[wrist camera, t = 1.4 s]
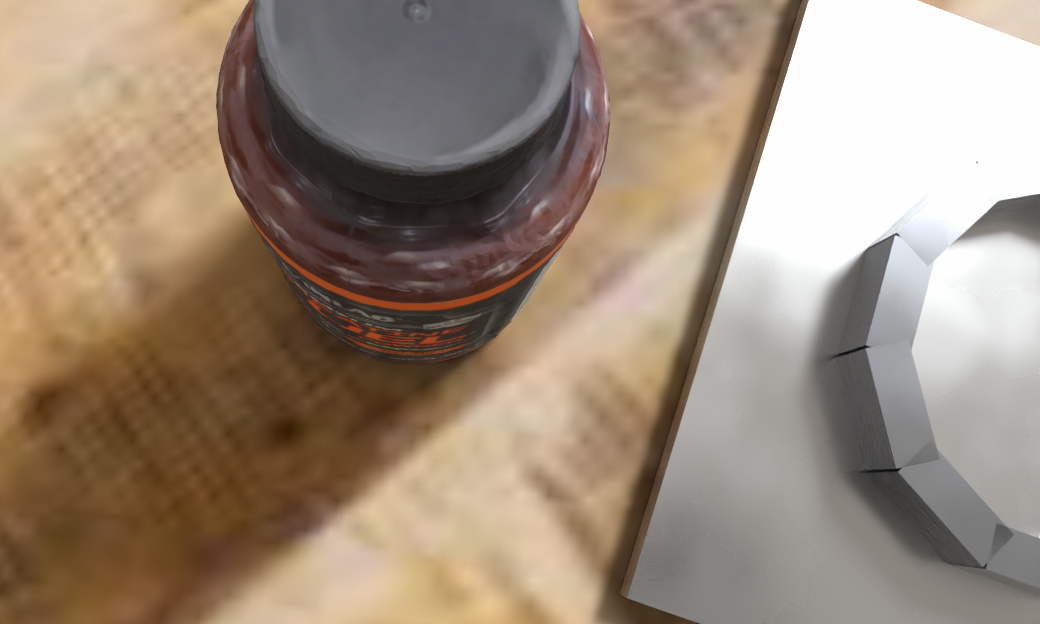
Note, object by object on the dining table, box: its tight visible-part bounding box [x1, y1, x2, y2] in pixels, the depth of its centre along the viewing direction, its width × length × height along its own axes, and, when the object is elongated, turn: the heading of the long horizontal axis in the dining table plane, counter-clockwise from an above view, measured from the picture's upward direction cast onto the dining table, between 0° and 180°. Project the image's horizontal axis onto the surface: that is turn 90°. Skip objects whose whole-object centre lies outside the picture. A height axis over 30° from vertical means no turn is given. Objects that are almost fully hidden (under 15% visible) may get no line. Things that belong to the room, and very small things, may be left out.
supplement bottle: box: [216, 0, 610, 364], centre depth 17 cm, size 6×6×11 cm
